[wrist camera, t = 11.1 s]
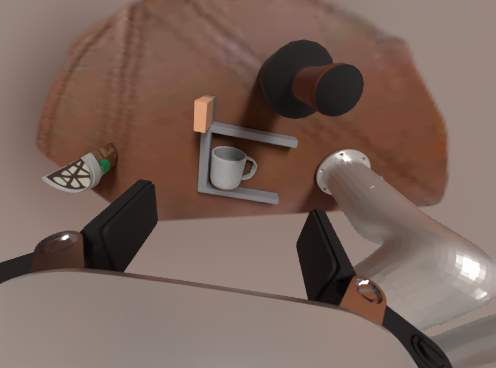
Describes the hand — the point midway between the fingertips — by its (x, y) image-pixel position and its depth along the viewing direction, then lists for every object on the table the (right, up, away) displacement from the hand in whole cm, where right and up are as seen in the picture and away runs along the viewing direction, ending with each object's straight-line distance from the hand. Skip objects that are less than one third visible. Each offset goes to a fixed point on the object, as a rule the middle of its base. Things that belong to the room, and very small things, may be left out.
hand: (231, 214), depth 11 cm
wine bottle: (+7, +23, +26) cm, 35 cm away
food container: (-34, +8, +35) cm, 50 cm away
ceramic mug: (-2, +7, +35) cm, 36 cm away
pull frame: (+1, +9, +33) cm, 35 cm away
